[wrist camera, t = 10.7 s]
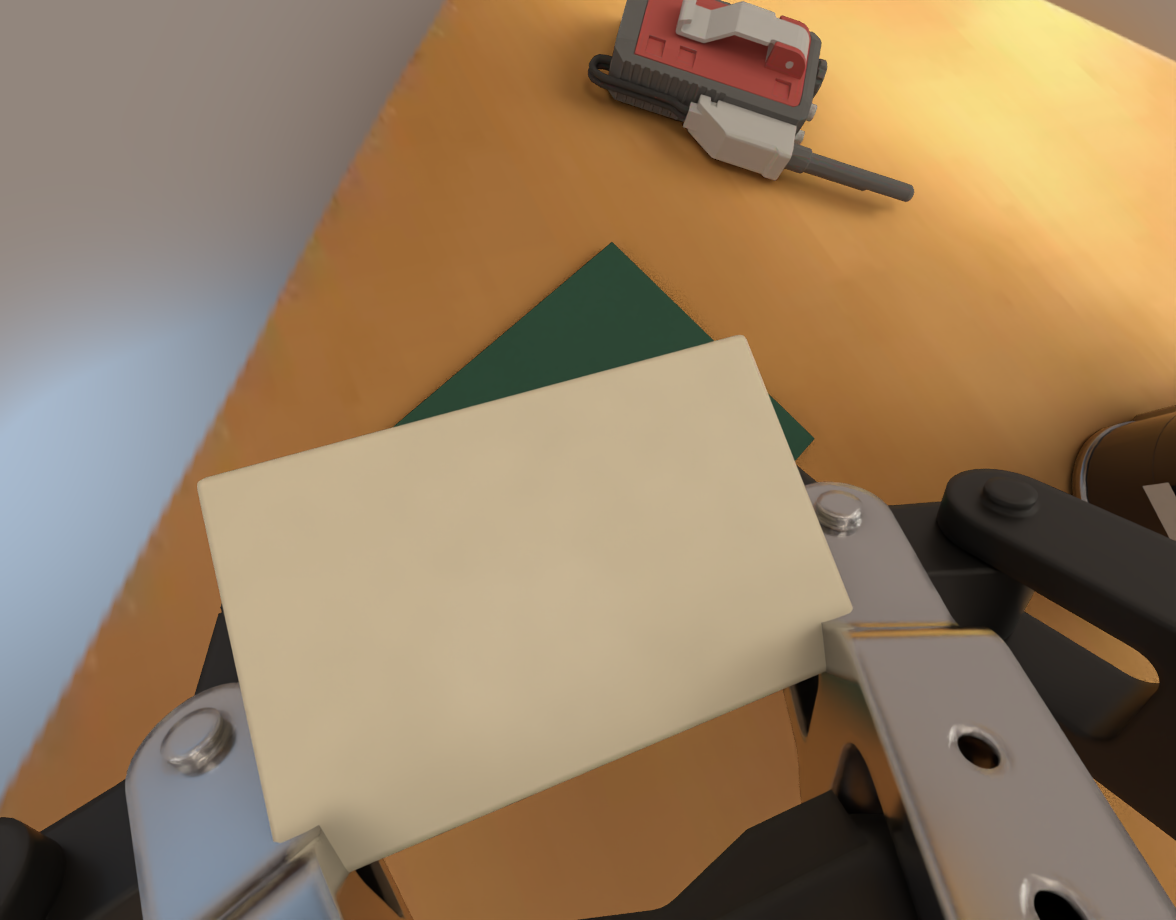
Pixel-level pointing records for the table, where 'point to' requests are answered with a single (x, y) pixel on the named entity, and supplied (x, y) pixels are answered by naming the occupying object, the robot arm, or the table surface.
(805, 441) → the desk pad
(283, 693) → the cream letter block
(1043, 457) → the table surface
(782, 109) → the walkie-talkie
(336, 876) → the robot arm
